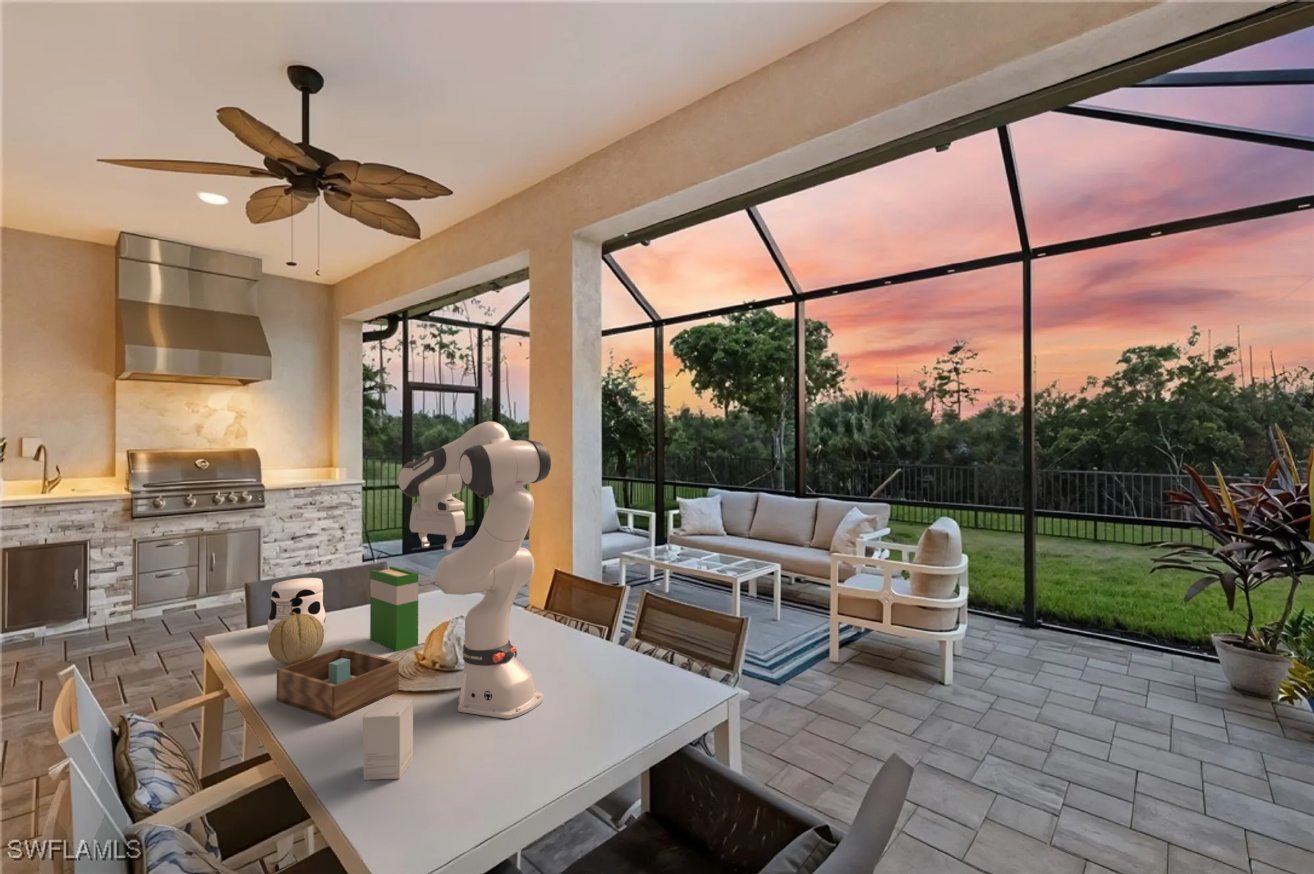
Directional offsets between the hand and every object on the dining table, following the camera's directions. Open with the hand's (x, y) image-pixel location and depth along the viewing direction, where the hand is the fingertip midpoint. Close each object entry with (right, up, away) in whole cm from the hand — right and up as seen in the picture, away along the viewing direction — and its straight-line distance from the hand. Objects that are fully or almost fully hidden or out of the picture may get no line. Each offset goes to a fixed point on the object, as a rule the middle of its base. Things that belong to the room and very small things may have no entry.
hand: (436, 548), depth 171 cm
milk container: (-61, -36, +28) cm, 76 cm away
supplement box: (+12, -34, -56) cm, 67 cm away
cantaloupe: (-44, -36, +2) cm, 56 cm away
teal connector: (-17, -34, -22) cm, 44 cm away
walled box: (-17, -35, -22) cm, 45 cm away
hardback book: (-22, -36, +18) cm, 46 cm away
